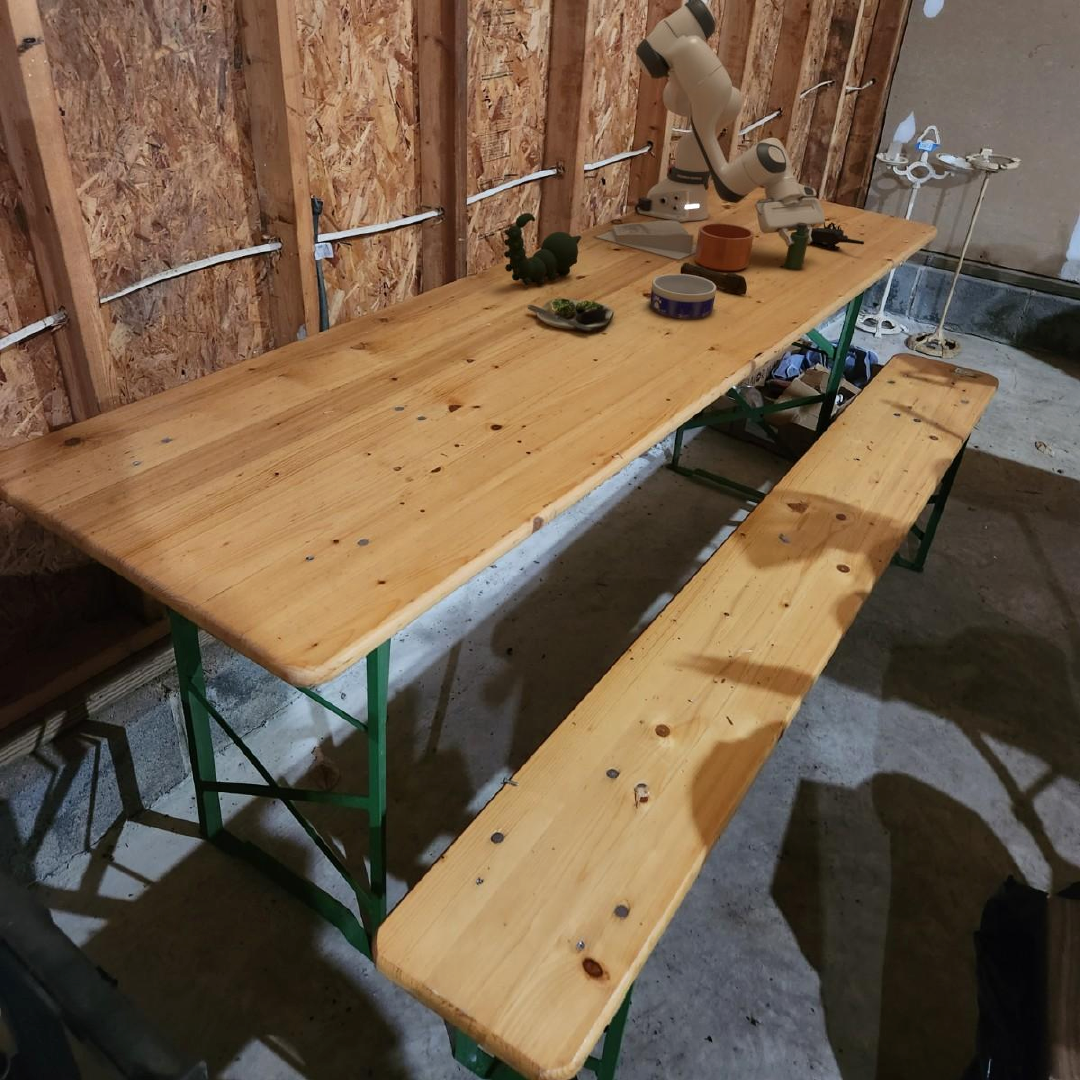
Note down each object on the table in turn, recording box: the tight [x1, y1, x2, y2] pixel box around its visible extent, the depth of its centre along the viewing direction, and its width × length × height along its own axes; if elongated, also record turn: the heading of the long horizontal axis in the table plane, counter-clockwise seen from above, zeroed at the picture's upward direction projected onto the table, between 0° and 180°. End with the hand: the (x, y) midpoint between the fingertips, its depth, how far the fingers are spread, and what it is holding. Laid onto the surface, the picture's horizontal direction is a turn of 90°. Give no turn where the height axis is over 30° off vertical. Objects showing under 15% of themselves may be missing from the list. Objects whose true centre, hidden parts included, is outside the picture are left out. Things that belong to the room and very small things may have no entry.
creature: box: [822, 219, 845, 234], centre depth 283 cm, size 8×5×8 cm
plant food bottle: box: [783, 223, 809, 271], centre depth 252 cm, size 5×5×12 cm
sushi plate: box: [526, 297, 615, 334], centre depth 213 cm, size 19×18×5 cm
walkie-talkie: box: [809, 227, 865, 251], centre depth 271 cm, size 6×6×20 cm
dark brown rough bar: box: [679, 262, 748, 295], centre depth 237 cm, size 19×4×5 cm, turn 48°
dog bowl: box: [649, 273, 717, 320], centre depth 223 cm, size 15×15×6 cm
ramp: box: [595, 220, 697, 261], centre depth 266 cm, size 28×16×5 cm, turn 53°
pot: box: [694, 222, 755, 272], centre depth 252 cm, size 15×15×9 cm
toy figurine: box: [503, 212, 582, 287], centre depth 230 cm, size 9×19×25 cm
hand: (799, 243), depth 252 cm, fingers closed on plant food bottle, 5 cm apart
